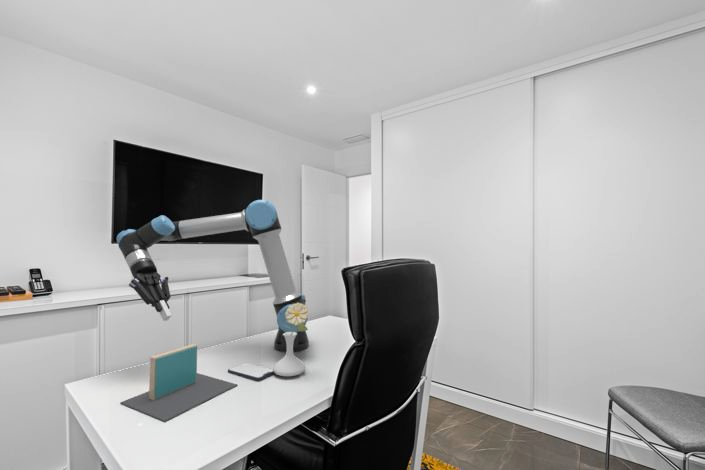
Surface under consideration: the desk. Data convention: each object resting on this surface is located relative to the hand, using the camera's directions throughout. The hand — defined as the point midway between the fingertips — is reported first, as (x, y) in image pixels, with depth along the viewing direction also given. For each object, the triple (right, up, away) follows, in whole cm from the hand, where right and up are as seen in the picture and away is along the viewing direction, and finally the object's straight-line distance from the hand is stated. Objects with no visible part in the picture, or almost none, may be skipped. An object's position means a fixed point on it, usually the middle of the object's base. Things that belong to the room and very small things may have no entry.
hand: (167, 318), depth 109 cm
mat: (+11, -20, -11) cm, 26 cm away
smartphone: (+27, -21, +5) cm, 35 cm away
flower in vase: (+41, -21, +5) cm, 46 cm away
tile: (+8, -20, -10) cm, 23 cm away
